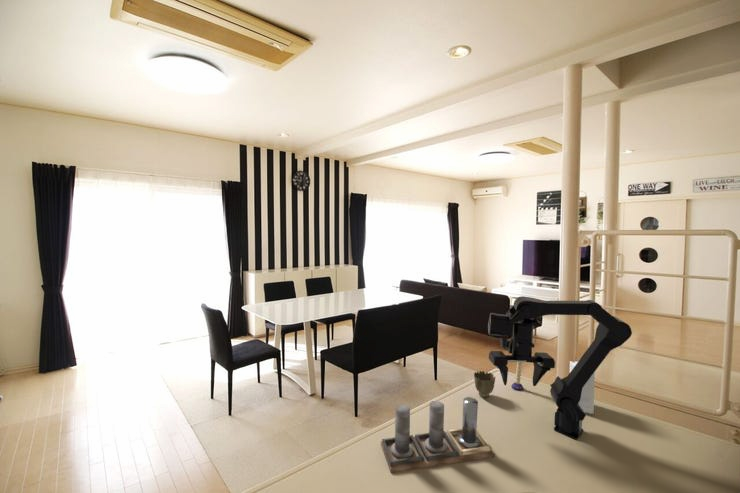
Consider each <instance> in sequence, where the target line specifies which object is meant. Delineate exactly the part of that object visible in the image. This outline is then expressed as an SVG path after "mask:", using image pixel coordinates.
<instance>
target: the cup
mask: <svg viewBox="0 0 740 493" xmlns="http://www.w3.org/2000/svg"><path fill="white" fill-rule="evenodd" d="M473 376H474V385H475V389H476V390H477V391H478V395H479V396H480V397H482V398H484V399H485V398H489V397H490V394H491V393H492V392H493V391H494V388H495V382H496V376H494V374H492V372H488V371H486V372H485V371H484V370H479V371H474V373H473Z"/></svg>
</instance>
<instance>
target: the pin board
mask: <svg viewBox="0 0 740 493" xmlns="http://www.w3.org/2000/svg"><path fill="white" fill-rule="evenodd" d="M394 408H395V411H394V412H395V414H394V415H395V417H394V422H395V423H394V437H388V438H382V439H381V440H380V446H381V447H380V448H381V449H382V452H383V455H384V458H385V461H386V464H387V466H388V469H389V472H390V473H399V472H404V471H411V470H416V469H417V470H418V469H422V468H423V469H424V468H429V467H435V466H443V465H449V464H456V463H461V462H467V461H468V462H469V461H474V460H480V459H487V458H492V457H493V458H494V457H495V456H494V455H495V453H494V451H493V450H492V449H493V448H492V445H490V443H489V442H488V441H487V439H486V438H485V437H484V436H483V435H482V433H481V432H480V431H479V430H478V429H477V432H476V436H477V437H478V438H479V440H480V445H479V447H477V448H470V449H467V448H464V447H463V446H461V445H460V444H459V442H458V435H459V434H460V433H462V427H461V428H455V429H447V430H446V431H445V428H444V426H445V425H444V423H445V404H444V403H443V402H442V401H438V400H434V401H430V402H429V411H428V413H429V415H428V416H429V419H428V423H429V424H428V432H425V433H418V434H415V435H414V436H413V434H410V433H411V432H410V431H411V430H410V429H411V427H410V426H411V408H410V406H408V405H406V404H399V405H396V406H395V407H394Z"/></svg>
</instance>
